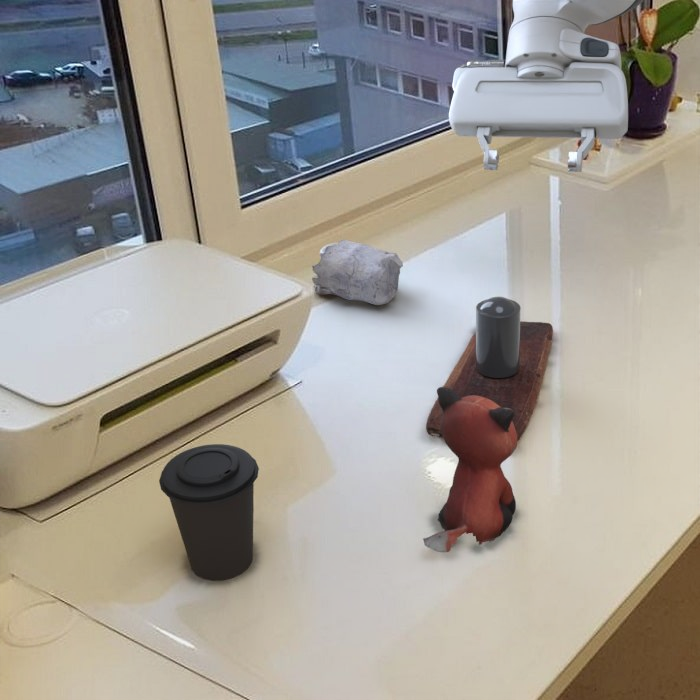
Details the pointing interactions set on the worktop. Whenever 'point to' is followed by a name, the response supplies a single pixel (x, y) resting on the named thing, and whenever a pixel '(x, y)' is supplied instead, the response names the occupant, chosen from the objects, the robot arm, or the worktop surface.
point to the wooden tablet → (507, 391)
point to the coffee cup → (213, 507)
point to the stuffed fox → (475, 469)
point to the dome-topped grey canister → (498, 337)
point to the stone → (357, 272)
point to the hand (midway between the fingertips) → (531, 168)
